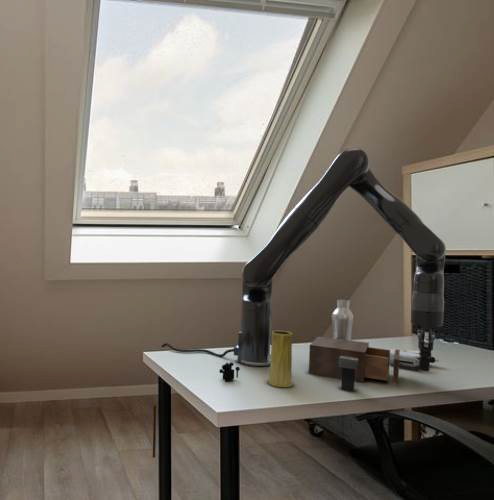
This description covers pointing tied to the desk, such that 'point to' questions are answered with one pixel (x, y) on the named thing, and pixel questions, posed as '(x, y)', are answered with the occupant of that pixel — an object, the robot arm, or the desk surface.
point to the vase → (281, 359)
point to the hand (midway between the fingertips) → (424, 370)
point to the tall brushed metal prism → (348, 372)
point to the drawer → (384, 364)
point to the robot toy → (409, 357)
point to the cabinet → (335, 356)
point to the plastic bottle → (342, 320)
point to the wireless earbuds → (228, 372)
